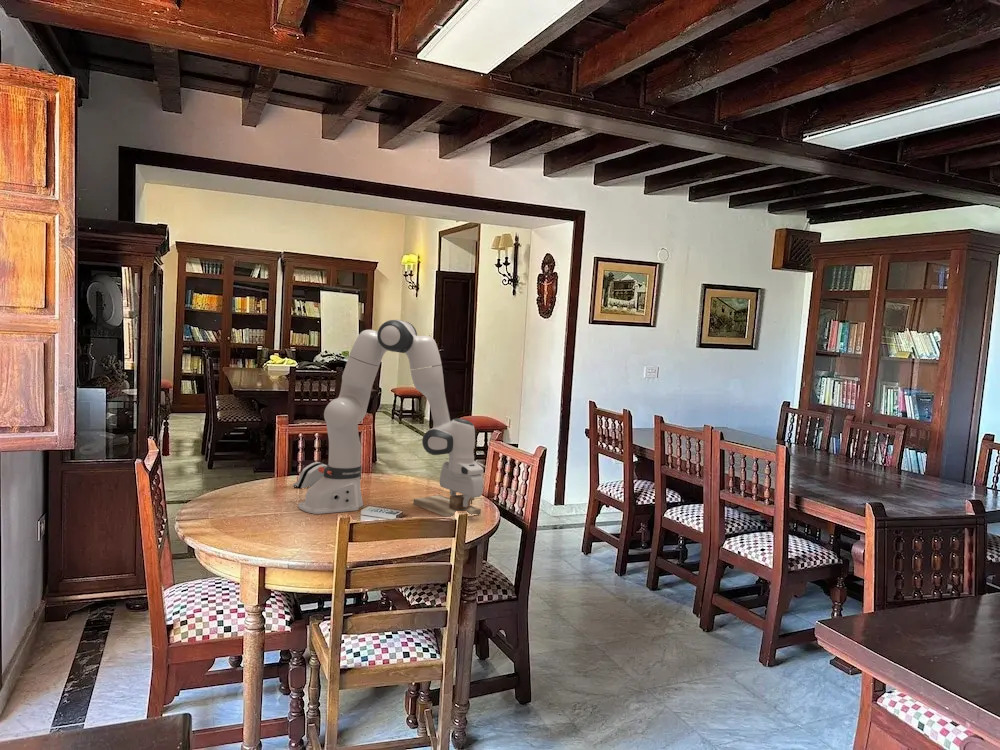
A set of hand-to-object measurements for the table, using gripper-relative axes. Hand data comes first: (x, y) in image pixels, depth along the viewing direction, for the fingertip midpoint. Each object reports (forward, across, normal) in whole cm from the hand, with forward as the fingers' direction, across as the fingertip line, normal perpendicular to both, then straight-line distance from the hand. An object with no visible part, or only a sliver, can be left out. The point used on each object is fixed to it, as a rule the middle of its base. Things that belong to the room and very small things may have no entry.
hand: (459, 504), depth 237 cm
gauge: (+1, 0, 0) cm, 1 cm away
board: (+3, -7, 0) cm, 8 cm away
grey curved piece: (+4, -66, -23) cm, 70 cm away
